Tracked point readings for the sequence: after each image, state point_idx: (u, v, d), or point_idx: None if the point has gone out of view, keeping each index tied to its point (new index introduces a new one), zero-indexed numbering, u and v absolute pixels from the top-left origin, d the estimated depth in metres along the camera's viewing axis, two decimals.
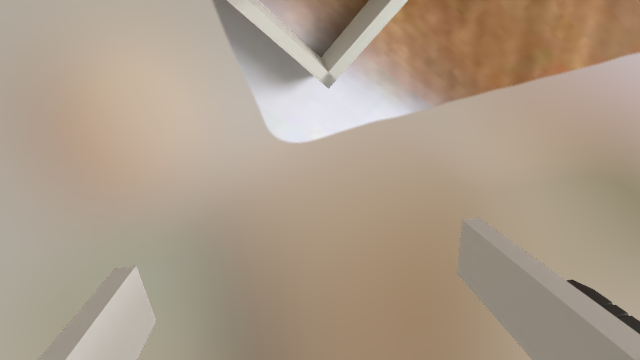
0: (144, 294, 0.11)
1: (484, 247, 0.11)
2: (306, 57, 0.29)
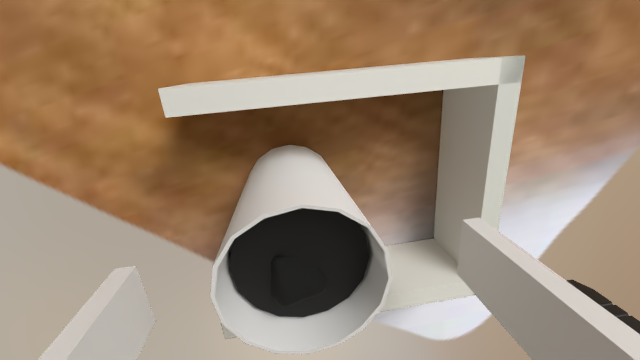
0: (145, 293, 0.12)
1: (484, 247, 0.11)
2: (433, 291, 0.18)
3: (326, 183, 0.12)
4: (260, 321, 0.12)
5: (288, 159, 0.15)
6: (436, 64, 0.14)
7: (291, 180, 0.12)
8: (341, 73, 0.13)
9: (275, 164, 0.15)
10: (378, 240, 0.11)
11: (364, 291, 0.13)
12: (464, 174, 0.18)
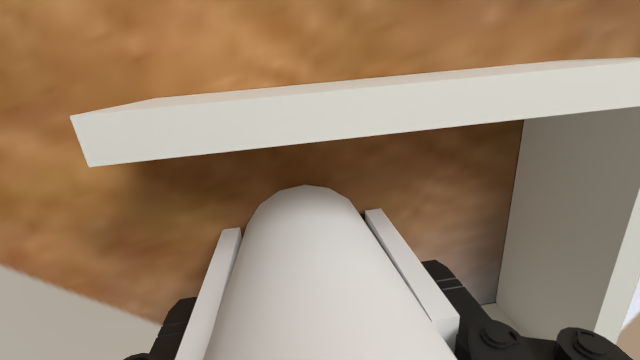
0: None
1: (374, 234, 0.12)
2: None
3: (385, 296, 0.06)
4: None
5: (306, 221, 0.10)
6: (570, 69, 0.08)
7: (320, 293, 0.06)
8: (406, 86, 0.07)
9: (285, 232, 0.09)
10: None
11: None
12: (566, 232, 0.12)
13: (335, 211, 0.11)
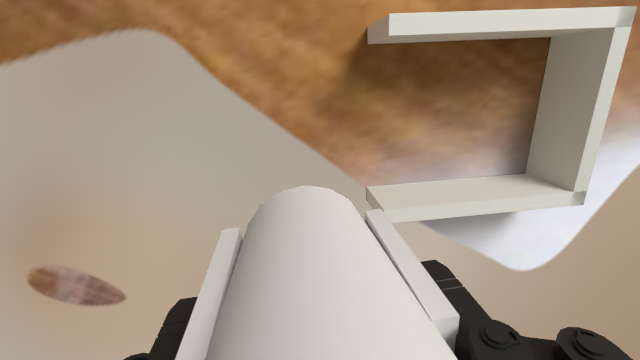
0: None
1: (374, 234, 0.12)
2: (542, 198, 0.23)
3: (386, 298, 0.06)
4: None
5: (307, 222, 0.10)
6: (574, 8, 0.19)
7: (321, 294, 0.06)
8: (510, 10, 0.19)
9: (287, 233, 0.09)
10: None
11: None
12: (570, 106, 0.23)
13: (336, 212, 0.11)
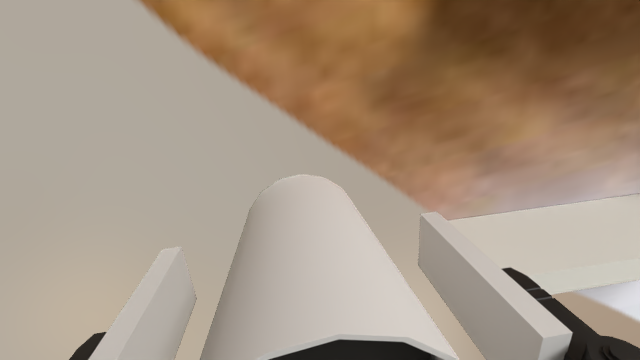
0: (188, 273, 0.13)
1: (436, 238, 0.12)
2: None
3: (366, 257, 0.08)
4: None
5: (303, 203, 0.11)
6: None
7: (312, 253, 0.08)
8: None
9: (284, 211, 0.11)
10: None
11: None
12: None
13: (328, 195, 0.12)
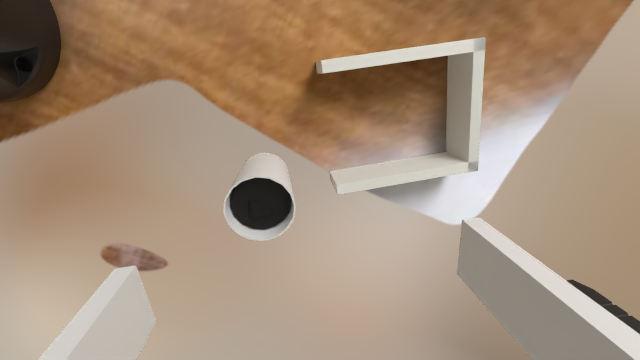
0: (145, 294, 0.12)
1: (484, 247, 0.11)
2: (446, 168, 0.34)
3: (270, 169, 0.29)
4: (244, 229, 0.29)
5: (258, 160, 0.32)
6: (443, 43, 0.29)
7: (255, 168, 0.29)
8: (399, 49, 0.29)
9: (252, 162, 0.32)
10: (287, 190, 0.27)
11: (289, 215, 0.29)
12: (460, 103, 0.34)
13: (269, 158, 0.33)
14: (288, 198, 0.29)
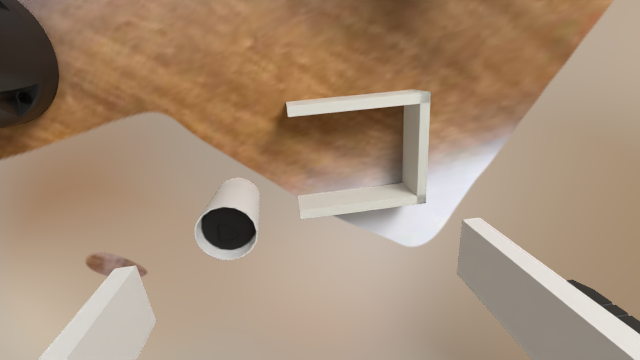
0: (144, 294, 0.11)
1: (484, 247, 0.11)
2: (397, 200, 0.39)
3: (238, 198, 0.33)
4: (213, 249, 0.33)
5: (230, 186, 0.36)
6: (393, 95, 0.34)
7: (225, 196, 0.33)
8: (355, 99, 0.33)
9: (224, 189, 0.36)
10: (250, 218, 0.31)
11: (253, 239, 0.34)
12: (412, 144, 0.38)
13: (241, 185, 0.38)
14: (253, 224, 0.33)
